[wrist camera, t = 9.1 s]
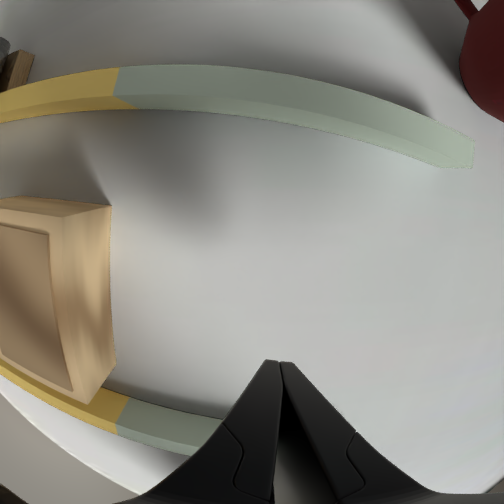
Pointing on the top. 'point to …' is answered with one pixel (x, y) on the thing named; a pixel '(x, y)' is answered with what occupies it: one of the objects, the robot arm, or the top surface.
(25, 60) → the winch
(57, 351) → the box
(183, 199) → the top surface
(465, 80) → the mug
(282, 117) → the bay
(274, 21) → the top surface
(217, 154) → the top surface
